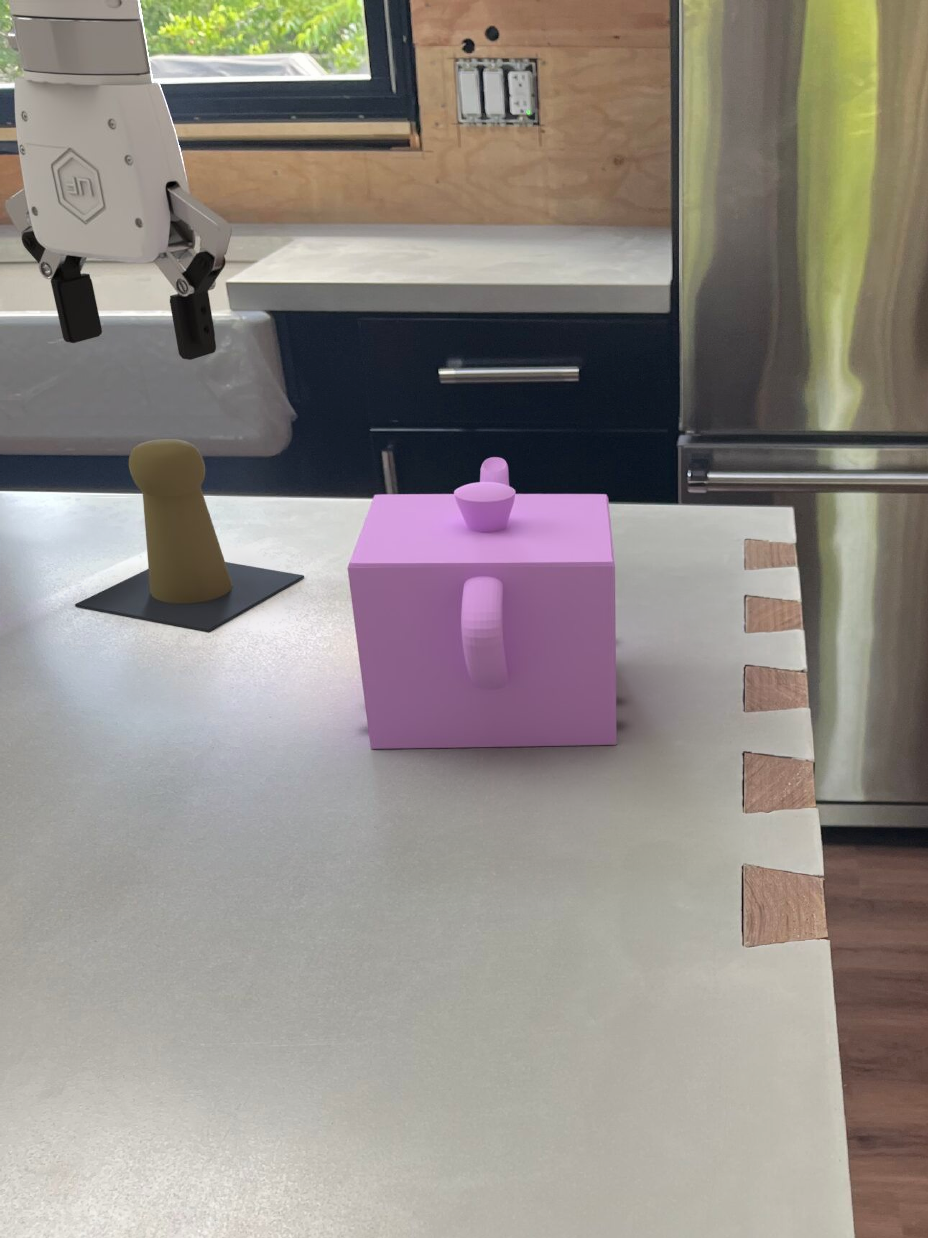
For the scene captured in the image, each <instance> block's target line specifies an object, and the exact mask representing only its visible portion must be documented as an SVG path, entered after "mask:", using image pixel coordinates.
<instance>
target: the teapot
mask: <svg viewBox="0 0 928 1238" xmlns="http://www.w3.org/2000/svg"><path fill="white" fill-rule="evenodd" d="M509 475H510V473H509V465H508V463H507V461H506V460H505V459H504V458H503V457H498V456H492V457H489V458H486V459H485V460H484V461H483V462H482V464H481V467H480V474H479V481H477V482H470V483H468V484H464V485H461V486H460V487H458V488H456V489H454V491H453V493H418V494H417V493H408V494H407V493H404V494H403V493H401V494H400V493H399V494H397V493H395V494H394V493H392V494H391V493H390V494H389V493H387V494H385V493H384V494H373V498H372V501H371V503H370V506H369V509H368V511H367V514H366V517H365V519H364V522H363V525H362V528H361V530H360V533H359V536H358V539H357V541H356V544H355V546H354V548H353V552H352V554H351V557H350V560H349V562H348V564H347V574H348V575H347V577H348V583H349V591H350V598H351V607H352V614H353V615H352V616H353V621H354V629H355V635H356V636H355V637H356V644H357V645H356V646H357V653H358V660H359V668H360V676H361V684H362V691H363V700H364V707H365V714H366V722H367V730H368V731H367V732H368V737H369V738H368V739H369V746H370V750H382V749H383V750H387V749H388V750H389V749H447V748H448V749H451V748H452V749H454V748H455V749H456V748H510V747H516V748H517V747H564V746H567V747H569V746H571V747H572V746H573V747H575V746H617V745H618V743H617V742H618V741H617V735H618V734H617V732H618V731H617V638H616V637H617V633H616V631H617V630H616V629H617V625H616V619H617V618H616V561H615V552H614V543H613V532H612V523H611V513H610V512H611V511H610V504H609V496H608V495H607V494H606V493H516V489H514V488H513V486H510V477H509Z"/></svg>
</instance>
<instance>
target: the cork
mask: <svg viewBox="0 0 928 1238" xmlns="http://www.w3.org/2000/svg"><path fill="white" fill-rule="evenodd" d="M205 464H206V463H205V460H204V457H203V456H202V453H201V452H200V450H199V449H198V447H196V445H194V444H193V443H191V442H189V441H186V440H181V439H173V438H159V439H153V440H149V441H145V442H142V443H139V444H137V445H136V446H135V447H134V448H132V450H131V452H130V455H129V456H128V468H129V473H130V476H131V478H132V480H133V482H134V484H135V486H136V487H137V488H138V489H139V490H140V492H142V504H143V515H144V527H145V528H144V530H145V539H146V541H145V543H146V552H147V553H146V555H147V566H148V568H147V569H149V581H150V593H151V595H152V597H154V598H155V599H157V600H160V601H163V602H167V603H179V604H182V603H197V602H204V601H208V600H212V599H215V598H218V597H221V596H223V595H225V594H227V593H228V592H229V591H230V590H231V589H232V586H233V585H232V582H231V579H230V575H229V572H228V569H227V566H226V563H225V562H226V560H225V557H224V554H223V550H222V548H221V545H220V542H219V538H218V536H217V533H216V530H215V527H214V526H215V525H214V523H213V520H212V517H211V515H210V511H209V508H208V505H207V502H206V499H205V496H204V493H203V490H202V484H203V483H204V480H205V478H206V477H205V476H206V465H205Z"/></svg>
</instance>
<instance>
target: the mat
mask: <svg viewBox="0 0 928 1238" xmlns="http://www.w3.org/2000/svg"><path fill="white" fill-rule="evenodd" d="M225 563H226V566H227V569H228V572H229V575H230V579H231V582H232V585H233V586H232V589H231V590H230V591H229V592H228V593H227V594H225V595H223V596H221V597H218V598H215V599H212V600H208V601H204V602H197V603H182V604H179V603H167V602H163V601H160V600H157V599H155V598H154V597H152V595H151V593H150V581H149V568H146V569H145V570H143V571H140V572H139V573H136V574H134V575H132V576H130V577H128V578H126V579H124V580H122V581H120V582H118V583H116V584H114V585H112V586H109V587H107V588H106V589H103V590H101V591H99V592H97V593H95V594H94V595H91V596H88V597H87V598H85V599H83V600H80V601H78V602H77V603H74V606H75V608H81V609H86V610H91V611H95V612H102V613H108V614H113V615H118V616H123V617H129V618H134V619H139V620H144V621H149V622H154V623H159V624H165V625H169V626H170V625H171V626H175V627H180V628H185V629H186V628H187V629H191V630H196V631H202V632H206V633H210V632H211V631H213V630H216V629H217V628H219V627H220V626H222V625H224V624H226V623H227V622H229V621H231V620H233V619H234V618H237V617H238V616H239V615H242V614H243V613H245V612H246V611H248V610H251V609H252V608H254V607H256V606H257V605H259V604H261V603H263V602H264V601H266V600H268V599H269V598H272V597H273V596H275V595H276V594H278V593H280V592H282V591H283V590H285V589H287V588H289V587H290V586H292V585H294V584H296V583H298V582H299V581H301V580H303V579H305V575H304V574H299V573H293V572H287V571H280V570H275V569H269V568H264V567H257V566H251V565H245V564H240V563H234V562H228V561H225Z"/></svg>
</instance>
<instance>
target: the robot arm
mask: <svg viewBox="0 0 928 1238" xmlns="http://www.w3.org/2000/svg"><path fill="white" fill-rule="evenodd" d="M7 4H8V9H9V12H10V15H11V17H10V18H11V22H12V27H11V28H9V29H8V33H7V38H8V43H9V46H10V47H11V49H12V50H13V51H14V52H16V53H18V54H19V59H20V64H21V69H22V75H23V76H17V77H14V91H13V93H14V94H13V95H14V96H13V97H14V118H15V130H16V140H17V148H18V156H19V163H20V168H21V175H22V176H21V177H22V181H23V188H21V189H20V190H19V191H17V192H16V193H15V194H13V195H12V196H10V197H9V198H8V199H7V200H6V201H5V202H4V209H5V211H6V213H7V216H8V217H9V218H10V221H11V222H12V224H13V226H14V227H15V229H16V231H17V232H18V234H19V235H21V242H22V245H23V247H24V248H25V249H26V251H27V252H28V253H29V255H31V256H32V258H33V259H34V260H35V261H36V262H37V263H38V269H39V272H40V274H41V276H42V277H43V278H44V279H46V280H50V285H51V289H52V293H53V299H54V302H55V307H56V311H57V316H58V322H59V325H60V330H61V335H62V338H63V340H64V342H66V343H70V344H71V343H72V344H75V343H79V342H84V341H87V340H91V339H95V338H97V337H100V336H101V335H102V333H103V328H102V323H101V319H100V313H99V309H98V304H97V299H96V295H95V288H94V285H93V284H94V283H93V281H92V278H91V274H90V273H82V270H83V268H84V266H85V264H86V261H87V259H94V260H95V259H96V260H102V261H112V262H121V263H130V264H147V263H151V262H153V263H155V265H156V267H157V268H158V269H159V270H160V272H161V273H162V275H164V277H165V278H166V280H167V281H168V282H169V284H170V285H171V286H172V288H173V289H174V290H175V291H176V294H172V295H169V306H170V312H171V316H172V322H173V328H174V334H175V340H176V344H177V345H176V346H177V351H178V355H179V356H180V357H181V359H183V360H189V361H191V360H196V359H197V358H201V357H205V356H207V355H210V354H214V353H215V352H216V351H217V344H216V334H215V333H216V332H215V325H214V320H213V314H212V307H211V302H210V294H209V291H213V290H214V289H215V287H216V284H217V283H216V280H217V279H218V277H219V276H220V274H221V273H222V271H223V269H224V268H225V266H226V263H227V261H226V257H225V255H227V253H228V248H229V244H230V241H231V236H232V232H233V231H232V226H231V224H230V223H229V222H228V221H227V220H226V219H225V218H223V217H222V216H221V215H220V214H217V213H216V212H215V211H214V210H212V209H210V208H209V207H208V206H206V204H204V203H202V202H201V201H200V200H198V199H197V198H195V197H194V196H193V195H191V192H190V187H189V186H190V185H189V182H188V178H187V174H186V173H187V172H186V169H185V164H184V159H183V155H182V152H181V147H180V145H179V144H180V143H179V141H178V135H177V133H176V129H175V126H174V123H173V119H172V116H171V113H170V109H169V107H168V104H167V100H166V97H165V95H164V92H163V89H162V87H161V84H160V82H154V79H153V74H152V68H151V62H150V57H149V52H148V50H149V49H148V45H147V39H146V32H145V26H144V20H143V14H142V8H141V3H140V0H7ZM196 232H197V233H198V235H199V239H200V241H199V252H196V250H195V247H196V242H197V235H196Z"/></svg>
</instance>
